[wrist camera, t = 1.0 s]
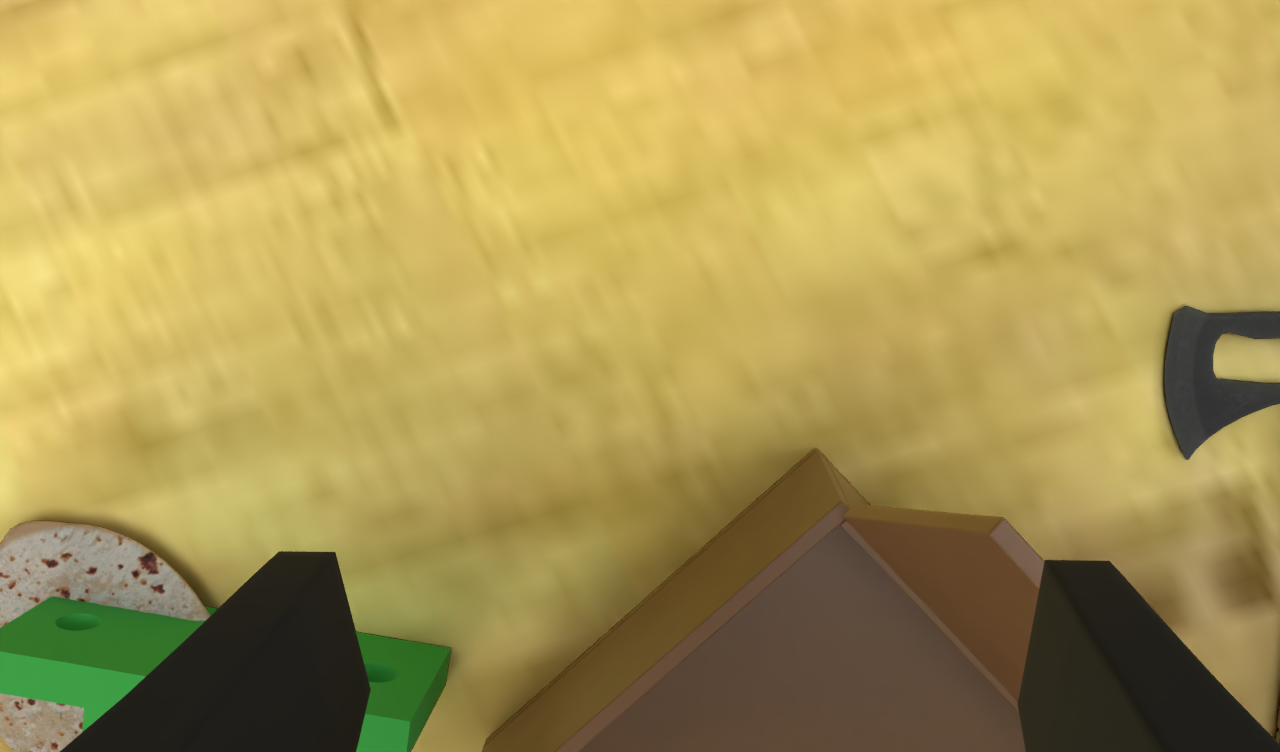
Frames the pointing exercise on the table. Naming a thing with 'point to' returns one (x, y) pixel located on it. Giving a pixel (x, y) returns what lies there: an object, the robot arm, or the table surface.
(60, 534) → the flatbread
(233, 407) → the table surface
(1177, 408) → the tactical tomahawk
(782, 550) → the carton
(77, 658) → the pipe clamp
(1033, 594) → the flap
